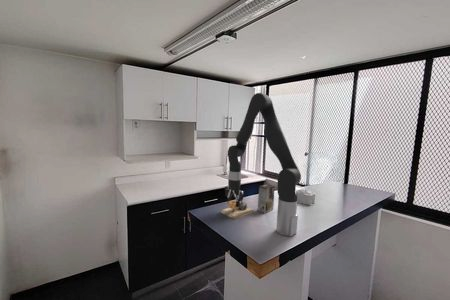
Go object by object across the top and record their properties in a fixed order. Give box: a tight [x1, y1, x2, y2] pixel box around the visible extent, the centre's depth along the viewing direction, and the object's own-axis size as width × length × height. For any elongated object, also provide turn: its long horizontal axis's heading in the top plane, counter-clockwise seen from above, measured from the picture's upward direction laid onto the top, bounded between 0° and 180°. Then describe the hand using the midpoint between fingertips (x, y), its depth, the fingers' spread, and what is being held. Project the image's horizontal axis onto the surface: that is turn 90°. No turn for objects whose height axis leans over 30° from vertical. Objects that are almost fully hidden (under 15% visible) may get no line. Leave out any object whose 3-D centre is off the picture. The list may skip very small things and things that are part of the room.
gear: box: [227, 200, 238, 209], centre depth 130 cm, size 6×6×3 cm
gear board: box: [220, 199, 255, 220], centre depth 132 cm, size 12×17×7 cm
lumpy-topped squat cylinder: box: [295, 188, 316, 206], centre depth 157 cm, size 10×13×9 cm
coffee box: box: [257, 183, 275, 214], centre depth 137 cm, size 9×6×16 cm
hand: (233, 205), depth 130 cm, fingers closed on gear, 6 cm apart
